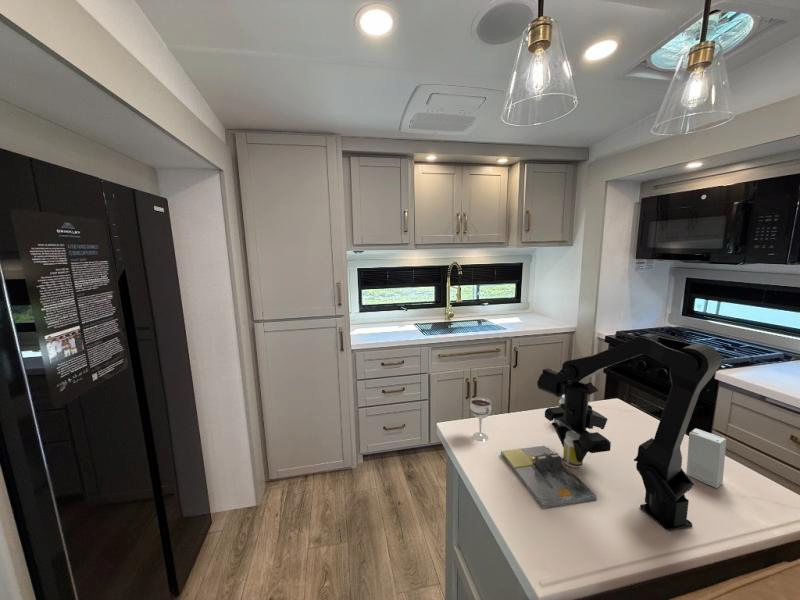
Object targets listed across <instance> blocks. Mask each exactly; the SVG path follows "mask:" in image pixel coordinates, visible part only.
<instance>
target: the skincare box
mask: <svg viewBox="0 0 800 600" xmlns="http://www.w3.org/2000/svg"><path fill="white" fill-rule="evenodd" d="M687 448H688V449H687V462H686V472H685V474H686V475H687V476H688V477H689V478H690V477H691V478H693V479H695V480H697V481H699V482H701V483H704V484H707V485H708V486H711V487H712V488H715V489H718V488H719V487H720V486H721V485H723V483H724V471H725V459H726V449H727V438H725V437H722V436H719V435H716V434H713V433H711V432H707V431H705V430H702V429H700V428H699V429H698V428H694V429H693V430H691V431H690V432H689V433H688V446H687Z"/></svg>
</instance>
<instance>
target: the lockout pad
mask: <svg viewBox="0 0 800 600" xmlns="http://www.w3.org/2000/svg"><path fill="white" fill-rule="evenodd" d="M521 449H522V448H516V450H514V449H507V450H508V451H506V450H501V451H502V453H503V454H504V456H505V457H506V458H507V459H508V461H509V462H510V463H511V464H512V466H513V467H514V468H518V467H525V466H532V465H533V464H532V461H531V460H530V458H529V457H528V456H527V455H526V454H525V453H524V452H523V451H522V450H521Z"/></svg>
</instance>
